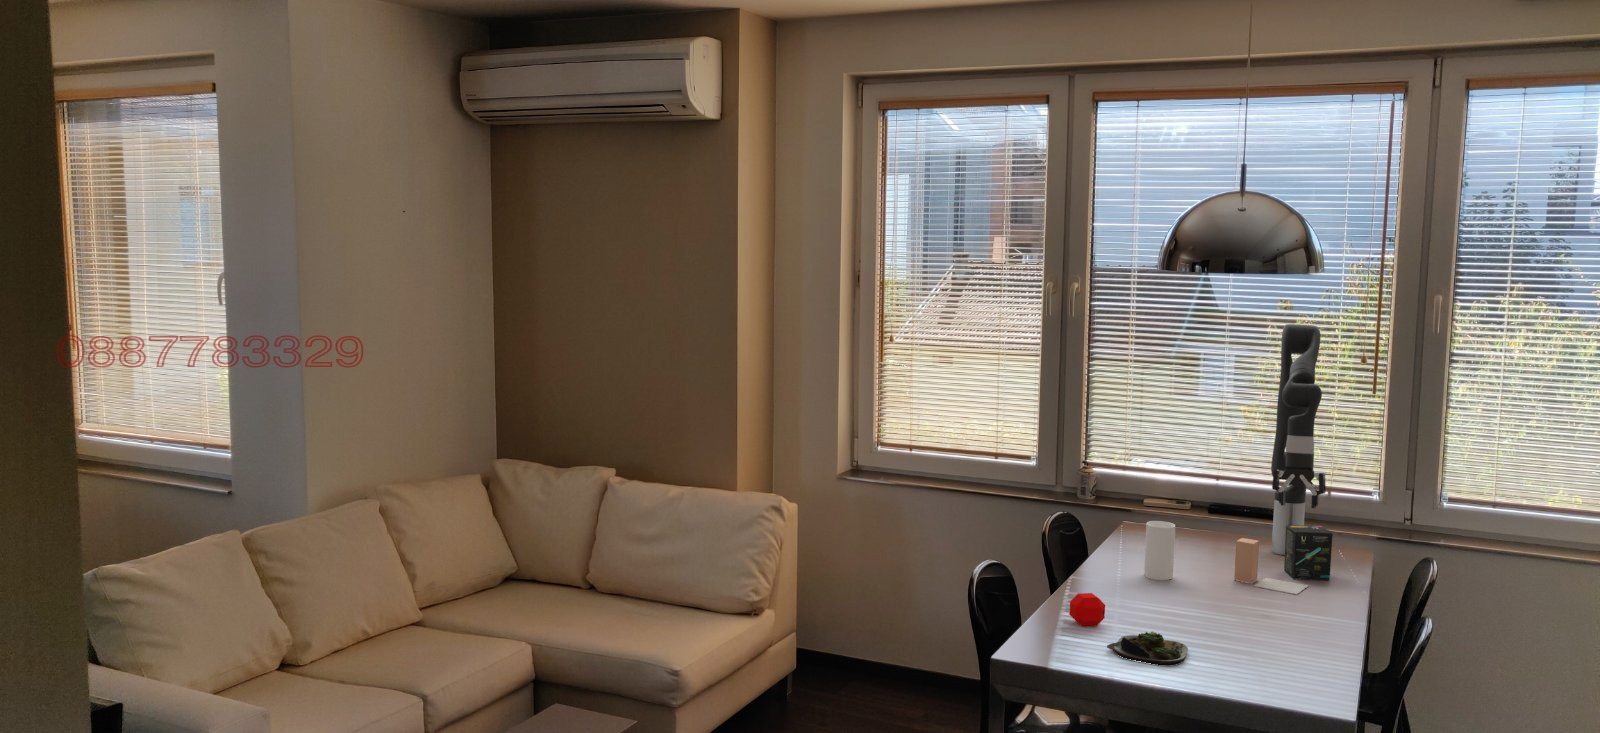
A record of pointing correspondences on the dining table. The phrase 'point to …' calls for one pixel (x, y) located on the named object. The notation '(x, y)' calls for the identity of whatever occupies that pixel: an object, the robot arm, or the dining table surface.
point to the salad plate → (1150, 649)
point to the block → (1246, 560)
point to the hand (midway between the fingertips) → (1298, 506)
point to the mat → (1281, 586)
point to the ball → (1087, 609)
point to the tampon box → (1308, 552)
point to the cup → (1159, 550)
